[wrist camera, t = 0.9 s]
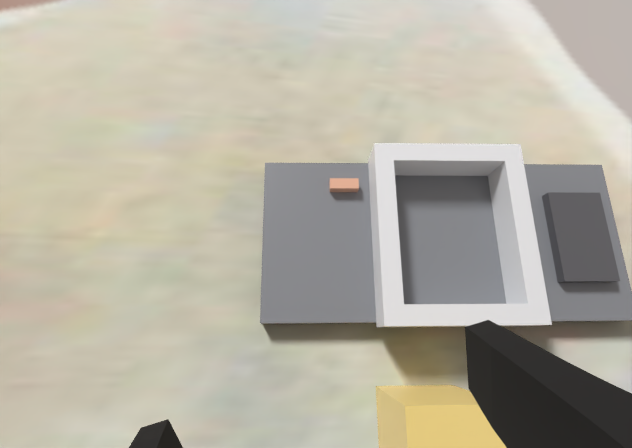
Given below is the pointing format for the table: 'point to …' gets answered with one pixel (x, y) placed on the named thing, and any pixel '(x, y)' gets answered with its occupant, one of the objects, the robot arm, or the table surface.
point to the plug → (432, 418)
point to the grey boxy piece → (440, 240)
